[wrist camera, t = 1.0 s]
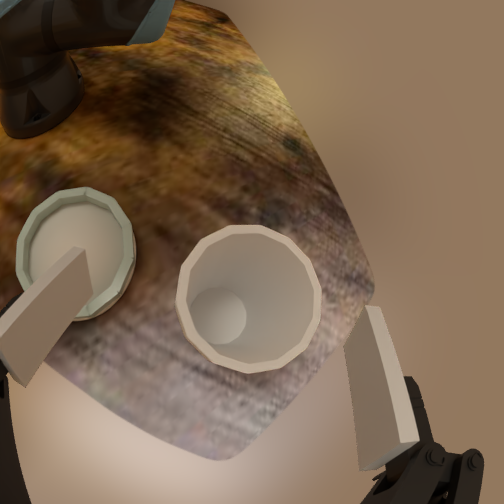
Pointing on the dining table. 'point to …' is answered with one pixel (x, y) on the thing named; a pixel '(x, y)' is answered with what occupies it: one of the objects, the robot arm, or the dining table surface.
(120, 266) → the ceramic saucer
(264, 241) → the foam cup
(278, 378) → the dining table surface
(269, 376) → the dining table surface
